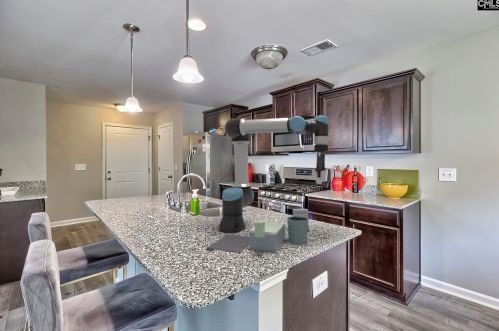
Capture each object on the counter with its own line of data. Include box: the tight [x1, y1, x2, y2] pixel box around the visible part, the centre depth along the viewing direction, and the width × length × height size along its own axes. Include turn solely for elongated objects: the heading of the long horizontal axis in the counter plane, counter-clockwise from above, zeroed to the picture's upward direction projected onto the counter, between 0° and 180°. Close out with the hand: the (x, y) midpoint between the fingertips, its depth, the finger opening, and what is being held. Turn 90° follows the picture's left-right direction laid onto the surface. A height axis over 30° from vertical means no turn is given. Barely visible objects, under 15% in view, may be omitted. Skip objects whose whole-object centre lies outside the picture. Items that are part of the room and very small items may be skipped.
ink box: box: [292, 208, 310, 232], centre depth 143 cm, size 9×5×12 cm, turn 84°
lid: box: [248, 220, 286, 238], centre depth 113 cm, size 12×23×7 cm, turn 160°
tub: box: [248, 225, 286, 253], centre depth 116 cm, size 12×18×8 cm, turn 160°
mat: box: [206, 233, 249, 254], centre depth 118 cm, size 16×22×1 cm
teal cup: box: [286, 215, 309, 246], centre depth 120 cm, size 10×10×12 cm
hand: (320, 182), depth 138 cm, fingers open, 13 cm apart
